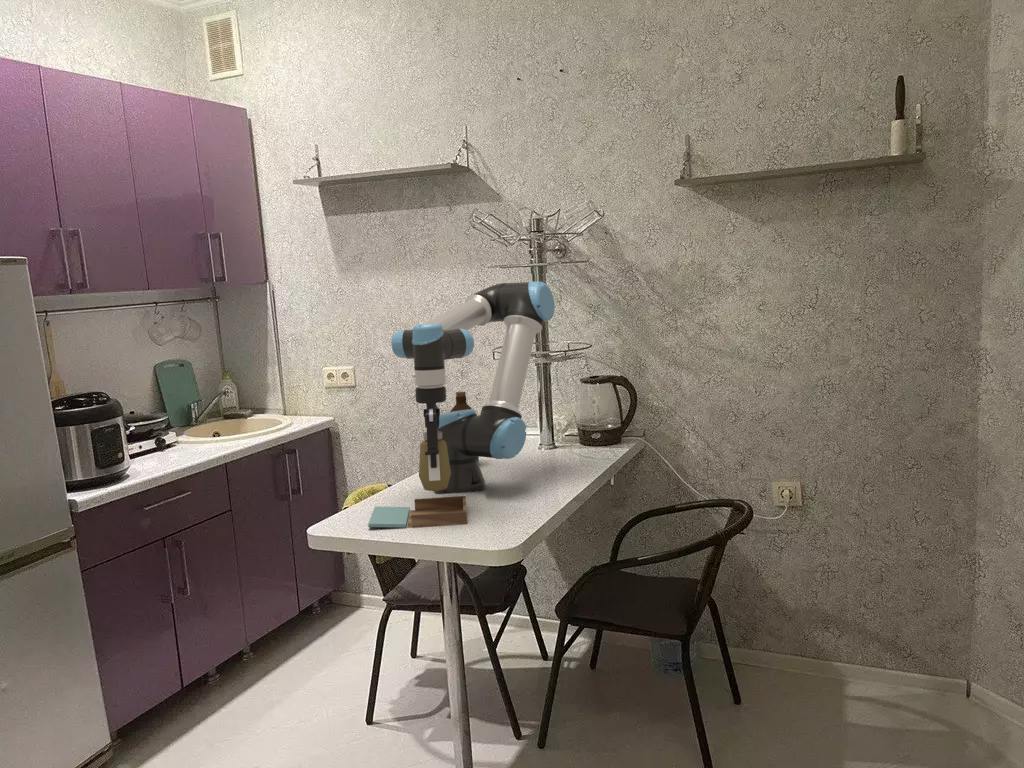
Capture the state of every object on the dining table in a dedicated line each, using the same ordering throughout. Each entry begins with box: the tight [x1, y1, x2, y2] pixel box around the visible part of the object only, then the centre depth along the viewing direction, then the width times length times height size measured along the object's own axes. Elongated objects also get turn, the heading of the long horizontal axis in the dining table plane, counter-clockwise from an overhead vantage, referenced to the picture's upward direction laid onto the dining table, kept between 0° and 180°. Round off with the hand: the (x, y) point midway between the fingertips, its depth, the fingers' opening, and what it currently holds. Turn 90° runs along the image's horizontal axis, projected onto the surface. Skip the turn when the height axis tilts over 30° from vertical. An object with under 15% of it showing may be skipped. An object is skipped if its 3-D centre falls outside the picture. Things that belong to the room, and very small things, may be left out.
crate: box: [406, 495, 468, 529], centre depth 193 cm, size 15×15×4 cm
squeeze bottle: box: [418, 429, 451, 492], centre depth 191 cm, size 8×8×18 cm
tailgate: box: [367, 506, 411, 528], centre depth 192 cm, size 15×1×9 cm
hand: (435, 476), depth 192 cm, fingers closed on squeeze bottle, 8 cm apart
